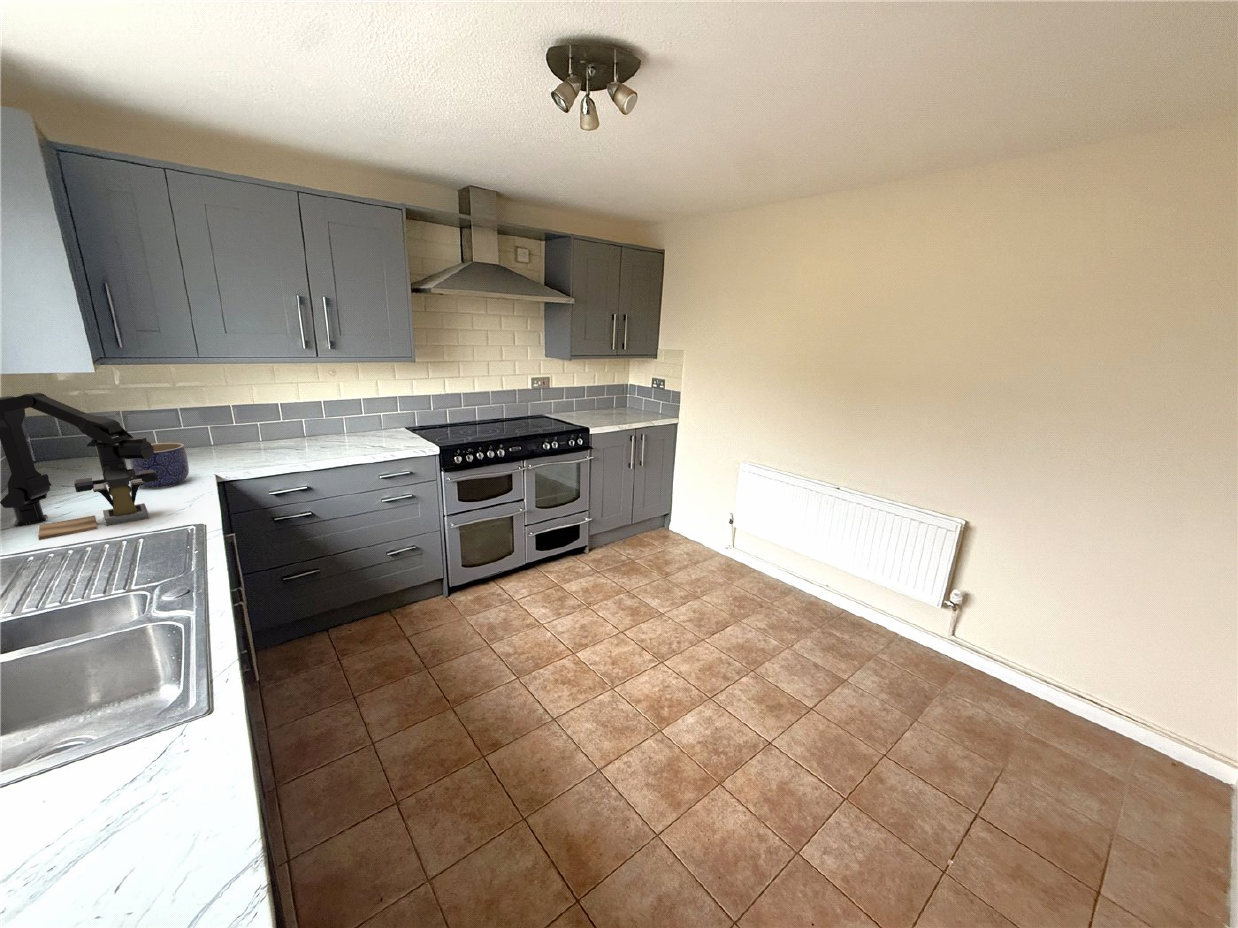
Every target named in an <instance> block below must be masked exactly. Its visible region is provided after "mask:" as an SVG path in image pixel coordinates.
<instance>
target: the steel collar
mask: <svg viewBox="0 0 1238 928" xmlns="http://www.w3.org/2000/svg"><path fill="white" fill-rule="evenodd" d="M135 506H136V508H137V511H138V512H135V513H129V514H124V515H118V516H113V508H108V509H102V512H103V519H104V521H105V526H106V527H111V526H115V525H122V524H127V523H132V522H137V521H141V520H147V519H150V515H149V511H148V508H147V506H146V504H145V502H143V503H138V504H135Z"/></svg>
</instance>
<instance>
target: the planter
mask: <svg viewBox="0 0 1238 928" xmlns="http://www.w3.org/2000/svg"><path fill="white" fill-rule="evenodd" d="M150 444H151V445H152V446H153V448H154V453H153V456H152V457H151V458H150V459H128V461H129V465H130V469H134V470H135V473H136V474H139V471H144V470H151V469H153V470H154V471H155V472H156V473H157V477H158V480H157V481H151V482H144V481H143V482H144V485H142V487H146V488H157V489H158V488H165V487H167V488H168V487H171V486H175V485H178V484H181V483H183V482H184V481H185V480H186V479H187V477H188V476H189V473H190V472H189V471H190V469H189V460H188V455H187V451H186V447H185V444H184V443H181V442H157V443H150Z"/></svg>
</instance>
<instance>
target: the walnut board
mask: <svg viewBox="0 0 1238 928" xmlns="http://www.w3.org/2000/svg"><path fill="white" fill-rule="evenodd" d="M94 530H98V524H97V517H96V515H94V514H93V515H90V516H89V515H88V516H84V517H78V518H71V519H66V520H62V521H61V520H60V521H55V522H50V523H44V524H39V525H38V536H37V537H38V540H39V541H41V540H46V539H51V538H57V537H64V536H67V535H73V534H77V533H84V532H88V531H94Z"/></svg>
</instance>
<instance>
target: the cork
mask: <svg viewBox="0 0 1238 928" xmlns="http://www.w3.org/2000/svg"><path fill="white" fill-rule="evenodd" d="M108 492H109V494H110V496H111V498H112V500H113V507H112V509H113V516H118V515H124V514H129V513H135V512H138V511H137V508H136V506H135V505H136V504H135V503H133V501H132V497H131V486H130V484H129V485H127V486H118V487H114V488H109V487H108Z"/></svg>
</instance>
